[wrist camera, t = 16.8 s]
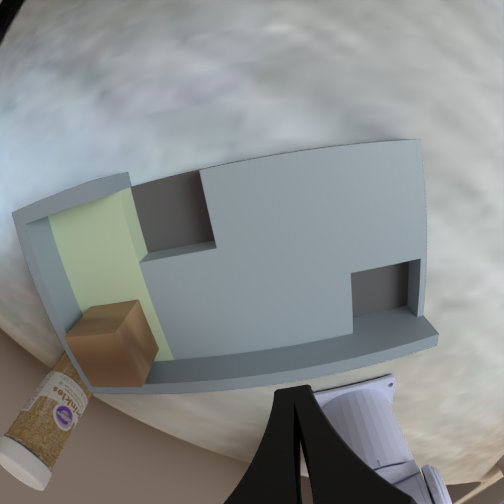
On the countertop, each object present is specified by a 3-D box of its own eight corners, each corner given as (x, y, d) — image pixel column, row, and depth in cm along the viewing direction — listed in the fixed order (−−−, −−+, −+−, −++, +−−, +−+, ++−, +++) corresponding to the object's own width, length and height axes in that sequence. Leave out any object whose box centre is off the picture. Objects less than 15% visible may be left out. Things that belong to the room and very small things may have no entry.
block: (159, 348, 20) (142, 386, 16) (113, 352, 20) (92, 386, 16) (138, 299, 18) (114, 333, 14) (91, 306, 19) (63, 337, 15)
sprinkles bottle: (111, 376, 23) (52, 494, 11) (87, 389, 24) (32, 491, 11) (76, 340, 22) (-3, 450, 9) (55, 357, 23) (-15, 453, 10)
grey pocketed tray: (410, 313, 21) (436, 345, 16) (110, 358, 23) (90, 392, 18) (403, 124, 16) (440, 120, 12) (50, 199, 18) (11, 212, 14)
